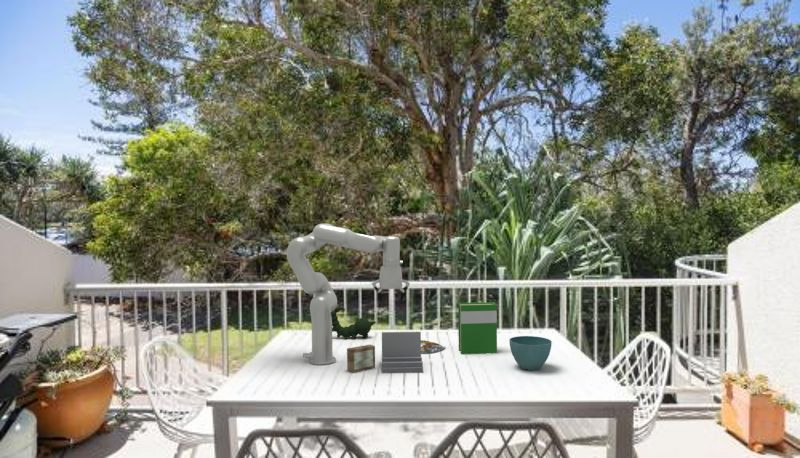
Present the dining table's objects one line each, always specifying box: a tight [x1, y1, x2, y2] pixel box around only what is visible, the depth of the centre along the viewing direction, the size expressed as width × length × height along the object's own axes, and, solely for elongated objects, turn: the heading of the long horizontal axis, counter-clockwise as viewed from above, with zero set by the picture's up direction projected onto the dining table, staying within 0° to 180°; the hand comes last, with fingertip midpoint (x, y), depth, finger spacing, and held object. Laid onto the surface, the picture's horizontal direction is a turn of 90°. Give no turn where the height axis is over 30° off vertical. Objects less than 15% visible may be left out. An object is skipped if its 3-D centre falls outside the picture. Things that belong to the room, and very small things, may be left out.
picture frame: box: [346, 344, 376, 374], centre depth 244 cm, size 12×4×10 cm, turn 126°
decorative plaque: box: [421, 339, 446, 355], centre depth 283 cm, size 30×3×30 cm
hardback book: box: [457, 301, 498, 355], centre depth 273 cm, size 18×7×24 cm, turn 94°
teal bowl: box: [508, 335, 553, 371], centre depth 244 cm, size 18×18×12 cm
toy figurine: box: [331, 306, 377, 340], centre depth 306 cm, size 9×19×25 cm
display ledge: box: [380, 331, 424, 374], centre depth 247 cm, size 18×18×14 cm
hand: (390, 301), depth 251 cm, fingers open, 9 cm apart
